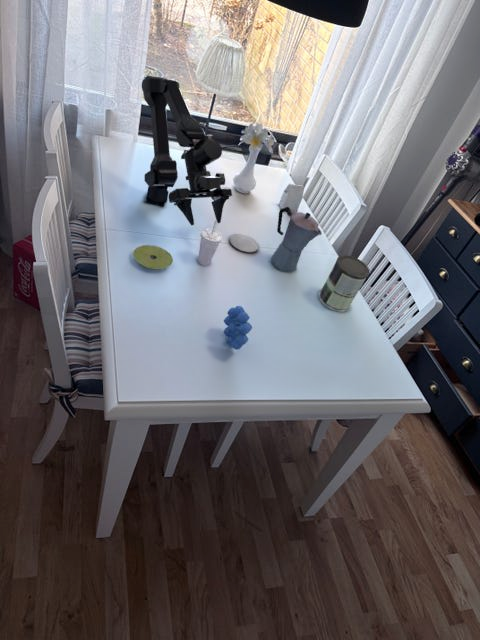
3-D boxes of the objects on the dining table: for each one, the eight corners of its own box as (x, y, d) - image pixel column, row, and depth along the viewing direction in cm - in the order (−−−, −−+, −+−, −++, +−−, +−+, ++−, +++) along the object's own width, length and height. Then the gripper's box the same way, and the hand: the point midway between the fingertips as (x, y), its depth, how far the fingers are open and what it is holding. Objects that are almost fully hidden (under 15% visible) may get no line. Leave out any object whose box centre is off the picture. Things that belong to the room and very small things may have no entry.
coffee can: (312, 295, 148) (330, 259, 139) (330, 286, 155) (349, 251, 146) (337, 316, 144) (357, 280, 135) (355, 306, 151) (375, 271, 142)
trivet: (224, 243, 155) (224, 242, 155) (236, 231, 163) (236, 230, 163) (251, 257, 154) (252, 255, 154) (262, 244, 162) (262, 243, 162)
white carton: (296, 211, 188) (306, 188, 182) (281, 209, 185) (290, 186, 179) (293, 206, 190) (302, 183, 184) (278, 204, 188) (287, 181, 181)
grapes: (252, 360, 120) (267, 327, 112) (227, 361, 117) (241, 327, 109) (238, 327, 127) (252, 294, 120) (215, 327, 125) (227, 293, 117)
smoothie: (215, 258, 148) (227, 220, 139) (212, 270, 143) (225, 231, 134) (195, 252, 147) (206, 213, 138) (191, 264, 142) (203, 224, 133)
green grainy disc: (140, 245, 142) (141, 240, 140) (176, 258, 142) (177, 253, 141) (126, 265, 133) (127, 259, 132) (164, 279, 133) (165, 273, 132)
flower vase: (253, 180, 197) (273, 121, 181) (260, 203, 184) (282, 141, 168) (222, 174, 193) (240, 112, 177) (228, 197, 180) (247, 132, 164)
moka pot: (295, 281, 152) (320, 228, 139) (255, 256, 155) (276, 203, 142) (307, 270, 159) (332, 218, 146) (269, 247, 162) (290, 194, 149)
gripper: (181, 161, 127) (192, 220, 128) (238, 162, 138) (247, 216, 139) (163, 173, 136) (173, 228, 137) (217, 173, 147) (226, 224, 148)
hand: (206, 224), depth 140 cm, fingers open, 9 cm apart
